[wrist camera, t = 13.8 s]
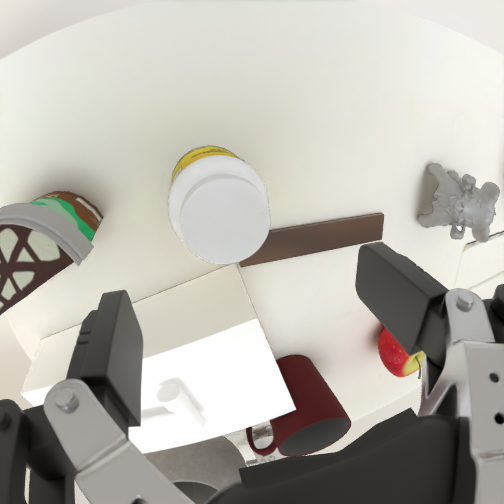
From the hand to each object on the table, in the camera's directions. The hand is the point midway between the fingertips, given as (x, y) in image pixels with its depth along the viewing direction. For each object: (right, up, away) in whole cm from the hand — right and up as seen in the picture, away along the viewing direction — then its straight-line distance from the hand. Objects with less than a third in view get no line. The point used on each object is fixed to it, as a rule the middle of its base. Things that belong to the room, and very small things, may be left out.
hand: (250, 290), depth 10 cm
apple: (+21, -10, +30) cm, 37 cm away
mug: (+3, -16, +28) cm, 32 cm away
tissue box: (-11, -10, +22) cm, 26 cm away
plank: (+7, +3, +20) cm, 21 cm away
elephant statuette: (+25, +9, +22) cm, 34 cm away
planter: (-11, -27, +30) cm, 41 cm away
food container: (-18, +5, +13) cm, 23 cm away
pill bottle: (-4, +7, +15) cm, 17 cm away
